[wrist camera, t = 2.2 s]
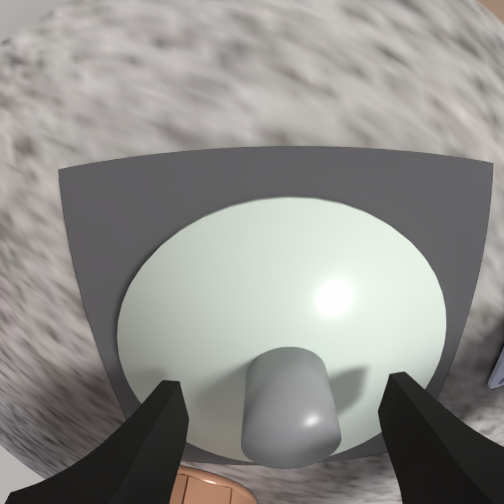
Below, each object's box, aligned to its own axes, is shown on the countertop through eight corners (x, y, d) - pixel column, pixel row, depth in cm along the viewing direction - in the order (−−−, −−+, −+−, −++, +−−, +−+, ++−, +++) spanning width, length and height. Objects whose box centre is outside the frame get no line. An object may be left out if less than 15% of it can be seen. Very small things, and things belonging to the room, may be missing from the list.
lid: (462, 198, 9) (537, 229, 5) (397, 437, 13) (415, 493, 10) (94, 206, 10) (20, 243, 6) (162, 445, 14) (146, 503, 10)
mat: (485, 161, 9) (493, 163, 8) (409, 441, 14) (411, 447, 14) (65, 167, 10) (58, 169, 9) (146, 448, 15) (144, 454, 15)
